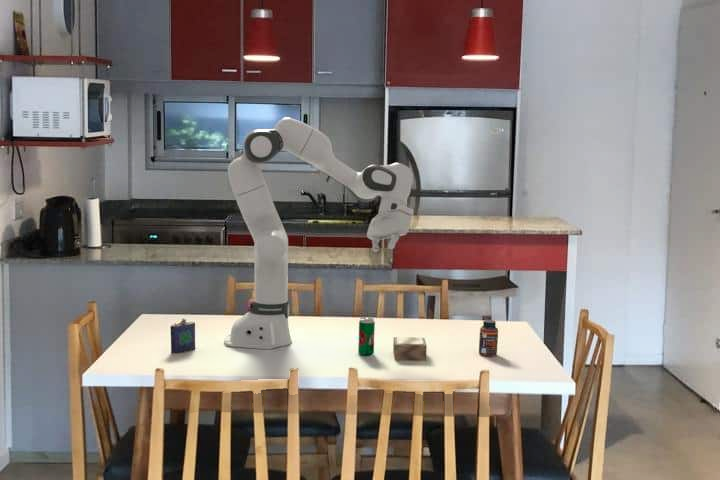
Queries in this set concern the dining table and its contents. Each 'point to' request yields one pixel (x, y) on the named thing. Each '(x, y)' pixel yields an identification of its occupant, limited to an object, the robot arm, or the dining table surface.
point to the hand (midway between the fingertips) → (382, 249)
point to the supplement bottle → (488, 339)
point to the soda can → (366, 336)
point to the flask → (182, 337)
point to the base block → (409, 348)
